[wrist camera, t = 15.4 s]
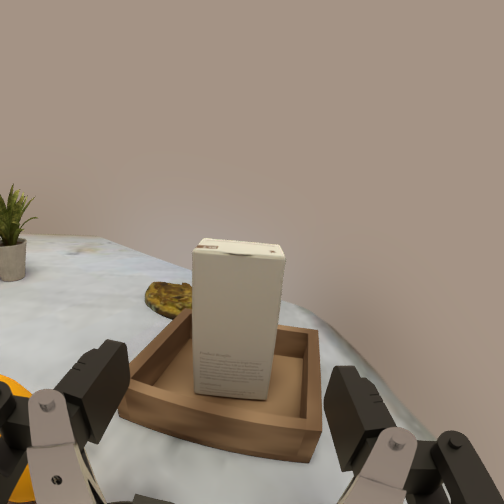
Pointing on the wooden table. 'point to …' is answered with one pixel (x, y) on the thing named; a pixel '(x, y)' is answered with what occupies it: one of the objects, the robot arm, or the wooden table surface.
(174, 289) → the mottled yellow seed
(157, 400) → the walnut box
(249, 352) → the skincare box
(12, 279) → the house plant
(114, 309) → the wooden table surface
